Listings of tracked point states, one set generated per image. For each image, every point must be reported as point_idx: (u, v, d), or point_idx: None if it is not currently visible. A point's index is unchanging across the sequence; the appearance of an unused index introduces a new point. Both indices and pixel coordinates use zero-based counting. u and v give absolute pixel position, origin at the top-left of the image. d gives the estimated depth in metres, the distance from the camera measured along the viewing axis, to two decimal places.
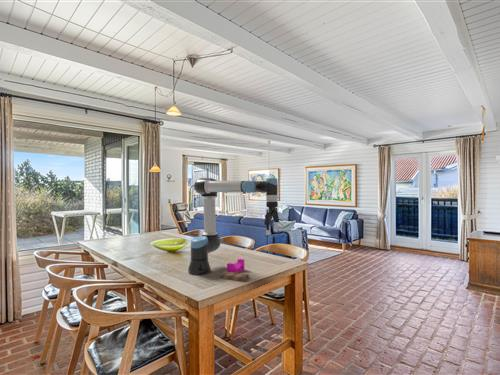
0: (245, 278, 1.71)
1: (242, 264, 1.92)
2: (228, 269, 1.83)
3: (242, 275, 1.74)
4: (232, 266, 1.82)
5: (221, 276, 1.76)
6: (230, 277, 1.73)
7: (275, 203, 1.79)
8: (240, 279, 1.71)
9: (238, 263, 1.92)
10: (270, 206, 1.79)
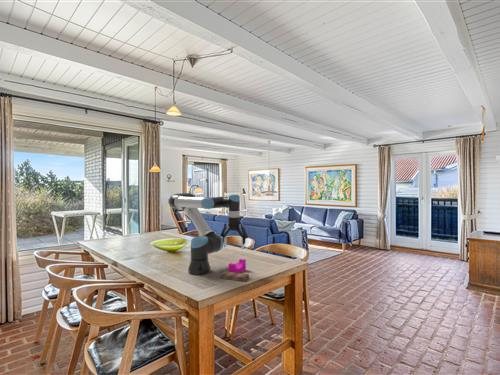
0: (245, 278, 1.71)
1: (243, 264, 1.92)
2: (230, 269, 1.82)
3: (242, 275, 1.74)
4: (234, 266, 1.82)
5: (221, 276, 1.76)
6: (230, 277, 1.73)
7: (229, 219, 1.87)
8: (240, 279, 1.71)
9: (239, 263, 1.92)
10: None
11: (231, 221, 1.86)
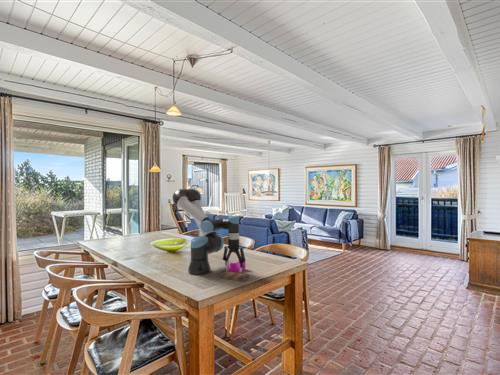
0: (245, 278, 1.71)
1: (243, 263, 1.93)
2: (231, 269, 1.82)
3: (242, 275, 1.74)
4: (235, 266, 1.82)
5: (221, 276, 1.76)
6: (230, 277, 1.73)
7: (229, 241, 1.87)
8: (240, 279, 1.71)
9: None
10: None
11: (231, 243, 1.86)
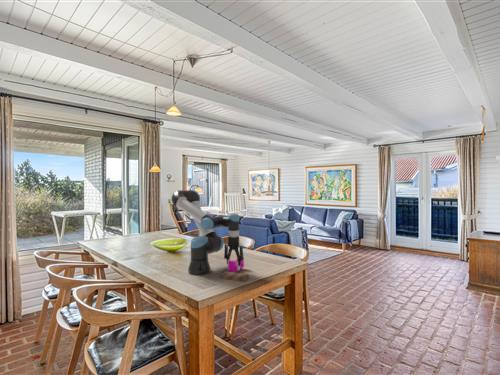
0: (245, 278, 1.71)
1: (242, 261, 1.94)
2: (230, 267, 1.84)
3: (242, 275, 1.74)
4: (234, 263, 1.84)
5: (221, 276, 1.76)
6: (230, 277, 1.73)
7: (229, 238, 1.87)
8: (240, 279, 1.71)
9: None
10: None
11: (231, 241, 1.86)
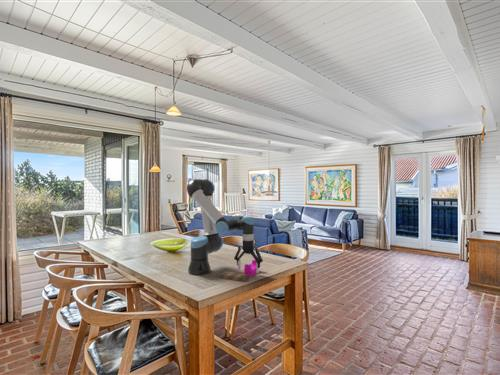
0: (245, 278, 1.71)
1: None
2: (246, 270, 1.79)
3: (242, 275, 1.74)
4: (250, 267, 1.79)
5: (221, 276, 1.76)
6: (230, 277, 1.73)
7: (243, 242, 1.83)
8: (240, 279, 1.71)
9: (253, 264, 1.89)
10: None
11: (245, 244, 1.81)
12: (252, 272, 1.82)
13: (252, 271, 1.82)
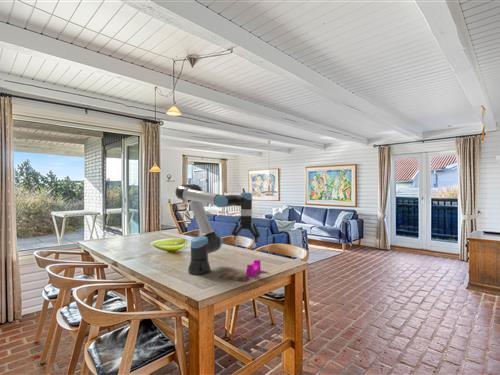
0: (245, 278, 1.71)
1: (259, 265, 1.90)
2: (248, 271, 1.79)
3: (242, 275, 1.74)
4: (253, 267, 1.79)
5: (221, 276, 1.76)
6: (230, 277, 1.73)
7: (241, 217, 1.85)
8: (240, 279, 1.71)
9: (255, 264, 1.89)
10: None
11: (243, 219, 1.84)
12: (254, 272, 1.82)
13: (254, 271, 1.82)
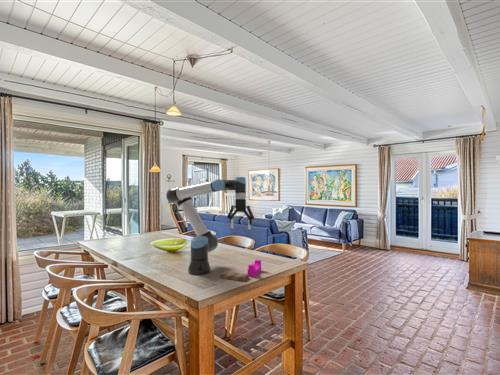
0: (245, 278, 1.71)
1: (260, 265, 1.90)
2: (250, 271, 1.79)
3: (242, 275, 1.74)
4: (254, 267, 1.79)
5: (221, 276, 1.76)
6: (230, 277, 1.73)
7: (236, 200, 1.92)
8: (240, 279, 1.71)
9: (256, 264, 1.89)
10: None
11: (238, 202, 1.91)
12: (256, 272, 1.82)
13: (256, 271, 1.82)
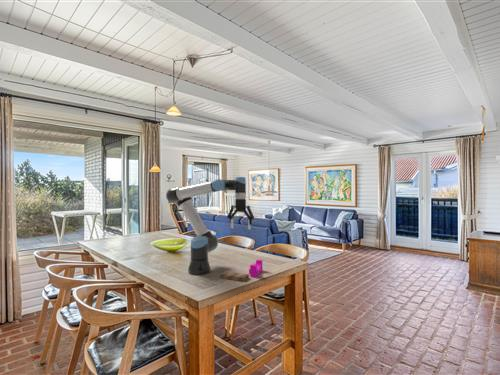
0: (245, 278, 1.71)
1: (261, 265, 1.90)
2: (252, 271, 1.79)
3: (242, 275, 1.74)
4: (256, 267, 1.79)
5: (221, 276, 1.76)
6: (230, 277, 1.73)
7: (236, 200, 1.93)
8: (240, 279, 1.71)
9: (257, 264, 1.89)
10: None
11: (238, 202, 1.91)
12: (257, 272, 1.82)
13: (257, 271, 1.82)
